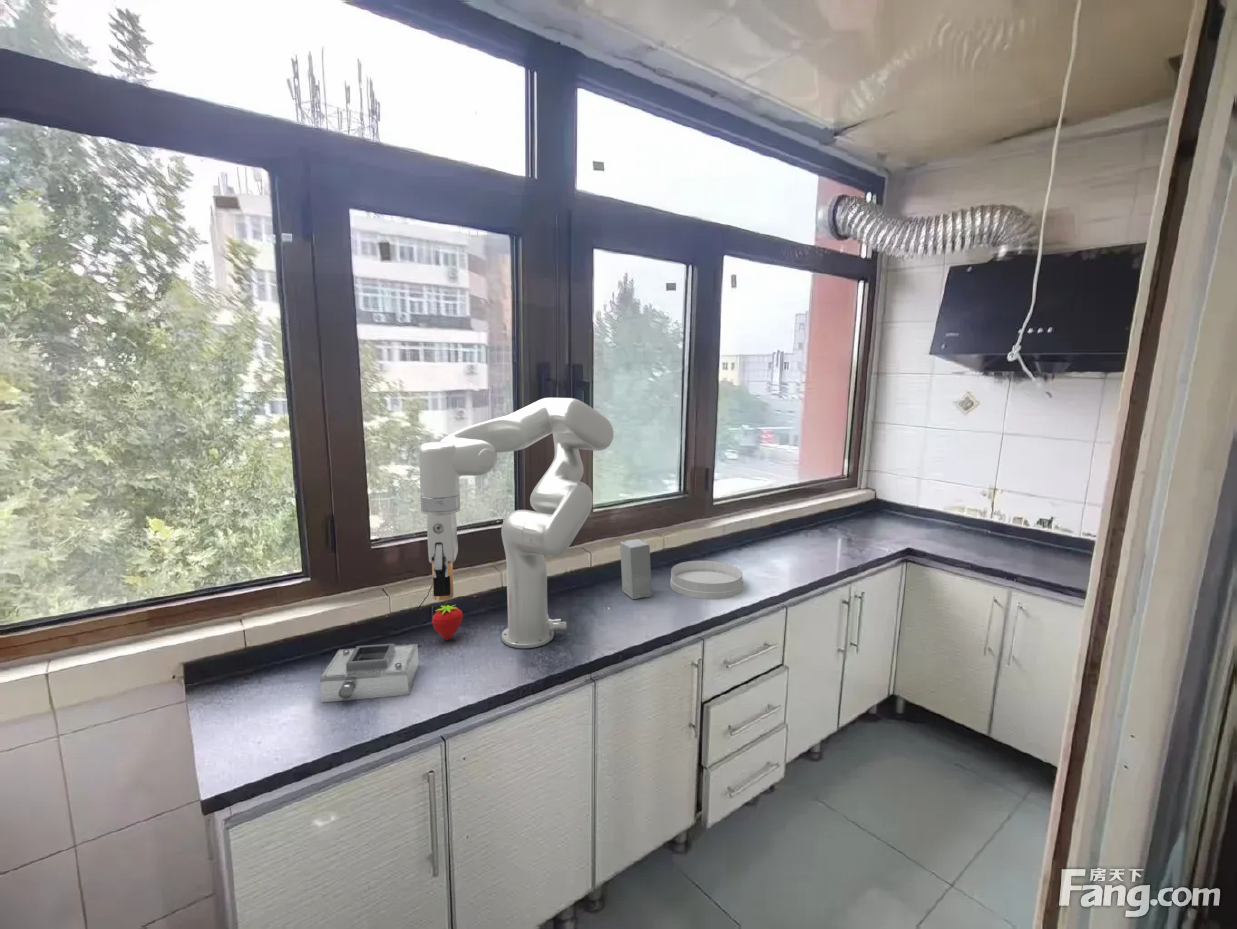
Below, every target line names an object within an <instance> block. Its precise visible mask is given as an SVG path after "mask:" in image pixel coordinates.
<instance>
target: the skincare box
mask: <svg viewBox="0 0 1237 929" xmlns="http://www.w3.org/2000/svg"><path fill="white" fill-rule="evenodd" d="M619 545H620V546H619V547H620V566H621V567H620V568H621V584H622V585H621V588H622V593H625V594H626V595H627V596H628V597H629V598H631V599H632V600H638V599H643V598H651V597H652V596H653V590H652V585H653V584H652V571H651V570H652V569H651V566H652V565H651V552H650V551H651V550H650V549H651V548H650V544H649V543H647V542H645V541H644V540H641V538H636V539H635V538H634V539H628V540H623V541H620V542H619Z"/></svg>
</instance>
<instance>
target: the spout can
mask: <svg viewBox="0 0 1237 929" xmlns="http://www.w3.org/2000/svg"><path fill="white" fill-rule="evenodd" d="M442 561H446V558H443V560H442ZM453 564H454V562H452V563H451V561H448V576H450V595H449V596H434V592H433V591H432V594H433V595H432V597H433V598H432V599H433V600H435V601H448V600H451V599H453V598H454V593H455V592H454V569H453V567H454V565H453ZM443 566H444V567H445V565H443ZM431 571H432V572H431V573H432V574H431V575H432V578H433V576H434V567H433V563H431Z"/></svg>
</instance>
